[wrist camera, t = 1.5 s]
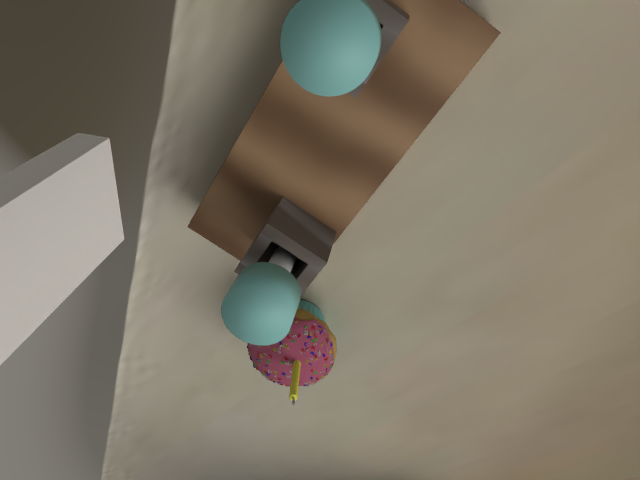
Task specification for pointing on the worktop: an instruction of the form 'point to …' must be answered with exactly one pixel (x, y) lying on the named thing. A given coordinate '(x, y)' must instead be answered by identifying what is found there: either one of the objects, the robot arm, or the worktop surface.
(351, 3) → the knob near
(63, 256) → the robot arm
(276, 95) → the mount
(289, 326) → the knob far
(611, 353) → the worktop surface
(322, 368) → the cupcake
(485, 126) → the worktop surface
